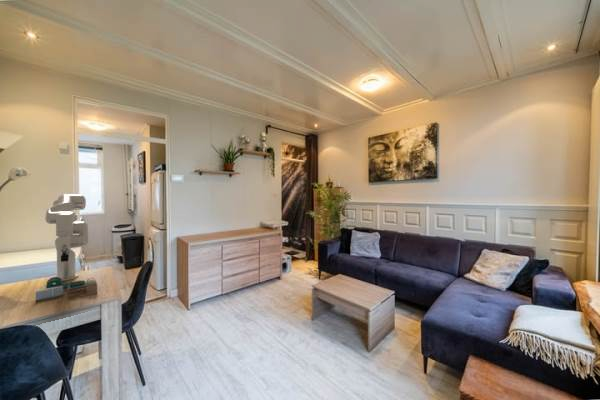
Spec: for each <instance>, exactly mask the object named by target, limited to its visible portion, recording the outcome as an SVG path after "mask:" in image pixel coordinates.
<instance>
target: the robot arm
mask: <svg viewBox="0 0 600 400" xmlns="http://www.w3.org/2000/svg"><path fill="white" fill-rule="evenodd" d="M86 203H87V201H86V197H85V195H83V194H62V195H59V196H58V198H57V199H56V200H54V201H53V204H52V206H50V207H48V209H46V213H45V222H46V223H48V224H49V225H55V236H56V238H55V240H54V245H55V250H56V277H59V278H61V280H62V282H64V281H65V282H66V281H70V280H73V279H76V278H78V277H79V274H78V273H76V252H75V251H74V250H73V249H75V248H76V249H77V248H83V247H84V248H85V247H87V246H88V245H89V227H88V226H89V225H88V223H87V222H86V221H77V220H78V214H77V213H76V212H74V211H83V210H85V208H86V206H87V204H86Z"/></svg>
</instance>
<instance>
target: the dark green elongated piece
mask: <svg viewBox="0 0 600 400" xmlns="http://www.w3.org/2000/svg"><path fill="white" fill-rule="evenodd" d="M85 282H86V280H83V279H82V280H77V281H71V282H66V283H63V281H62V280H61V278H59V277H57V276H53V277H50V278H49V279H48V280H47V281H46V286H45V287H46V288H45V289H47V288H52V287H58V286H63V291H65V290H68V285H70V288H75V287H79V286H84V285H85ZM64 289H65V290H64Z"/></svg>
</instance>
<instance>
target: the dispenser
mask: <svg viewBox="0 0 600 400" xmlns="http://www.w3.org/2000/svg"><path fill="white" fill-rule="evenodd" d="M95 294H98V283H97V280H96V278H94V277H89V278H87V279H86V280H85V285H83V286H79V287H75V288H70V285H68V289H67V299H68V300H70V299H73V298H74V297H75V298H79V297H82V296H83V295H84V296H91V295H95Z"/></svg>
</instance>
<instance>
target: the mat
mask: <svg viewBox="0 0 600 400" xmlns="http://www.w3.org/2000/svg"><path fill="white" fill-rule="evenodd" d="M55 299H59V296H54V297H49V298H45V299H40V300H37V301H38V303H40V302H46V301H49V300H55Z"/></svg>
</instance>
